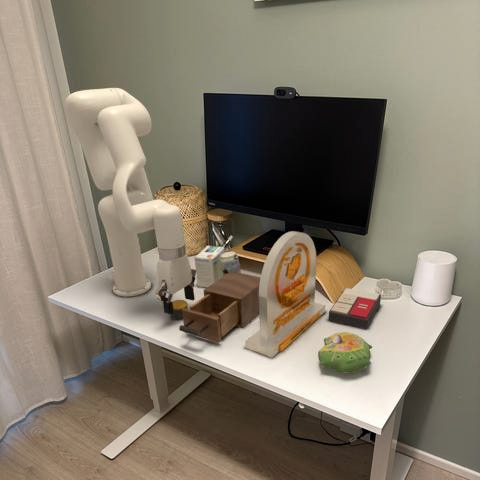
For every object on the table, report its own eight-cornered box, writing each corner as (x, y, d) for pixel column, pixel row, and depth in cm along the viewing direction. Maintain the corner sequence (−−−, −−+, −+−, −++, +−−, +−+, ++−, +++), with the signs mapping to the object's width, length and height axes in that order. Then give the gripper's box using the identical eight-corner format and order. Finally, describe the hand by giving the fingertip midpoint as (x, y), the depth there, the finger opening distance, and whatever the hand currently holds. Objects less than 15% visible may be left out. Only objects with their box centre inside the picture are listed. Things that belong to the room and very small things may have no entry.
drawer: (207, 352, 116) (205, 328, 112) (173, 341, 121) (169, 317, 118) (245, 320, 129) (244, 297, 126) (212, 311, 135) (210, 289, 131)
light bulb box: (209, 273, 160) (206, 244, 155) (226, 275, 158) (225, 246, 153) (196, 286, 152) (193, 256, 146) (215, 288, 150) (212, 258, 144)
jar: (167, 317, 135) (166, 305, 133) (178, 309, 138) (177, 298, 136) (181, 321, 132) (179, 309, 130) (191, 313, 136) (190, 301, 134)
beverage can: (241, 292, 147) (240, 257, 141) (219, 291, 148) (217, 257, 142) (245, 283, 152) (243, 250, 146) (224, 282, 153) (221, 249, 147)
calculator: (328, 309, 127) (345, 285, 138) (327, 322, 129) (344, 297, 140) (367, 317, 122) (381, 292, 133) (366, 331, 124) (380, 304, 135)
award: (273, 358, 114) (272, 256, 100) (245, 347, 119) (241, 248, 105) (326, 312, 133) (332, 221, 119) (300, 304, 138) (302, 215, 124)
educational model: (375, 346, 117) (377, 328, 114) (368, 384, 104) (370, 365, 101) (326, 339, 121) (327, 321, 118) (313, 374, 108) (314, 355, 105)
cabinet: (242, 327, 128) (241, 299, 123) (206, 317, 134) (203, 289, 129) (267, 305, 138) (267, 278, 134) (232, 297, 144) (231, 270, 140)
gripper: (181, 239, 133) (187, 292, 141) (140, 260, 120) (150, 316, 129) (201, 243, 129) (207, 296, 138) (162, 264, 117) (171, 322, 125)
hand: (179, 306), depth 133 cm, fingers open, 9 cm apart
